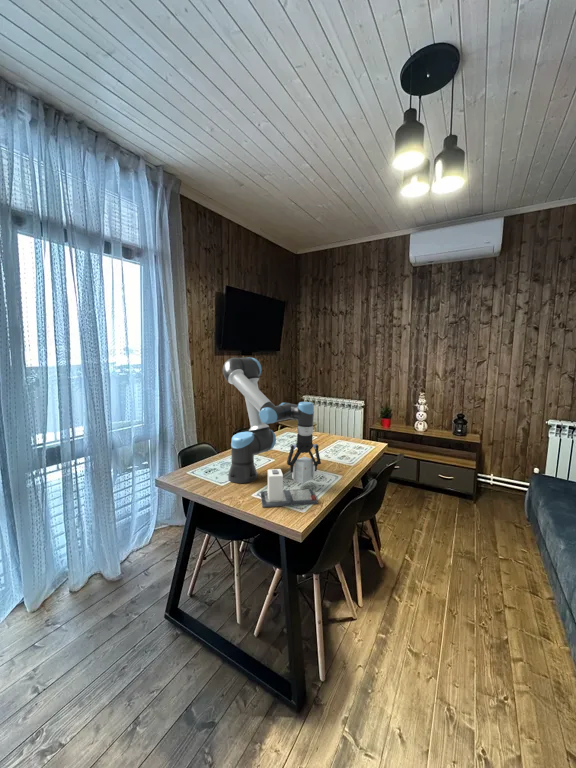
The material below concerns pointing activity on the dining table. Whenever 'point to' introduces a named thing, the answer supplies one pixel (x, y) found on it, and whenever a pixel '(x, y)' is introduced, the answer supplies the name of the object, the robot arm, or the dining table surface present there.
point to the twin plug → (275, 484)
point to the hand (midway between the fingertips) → (303, 477)
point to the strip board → (290, 498)
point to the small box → (303, 470)
